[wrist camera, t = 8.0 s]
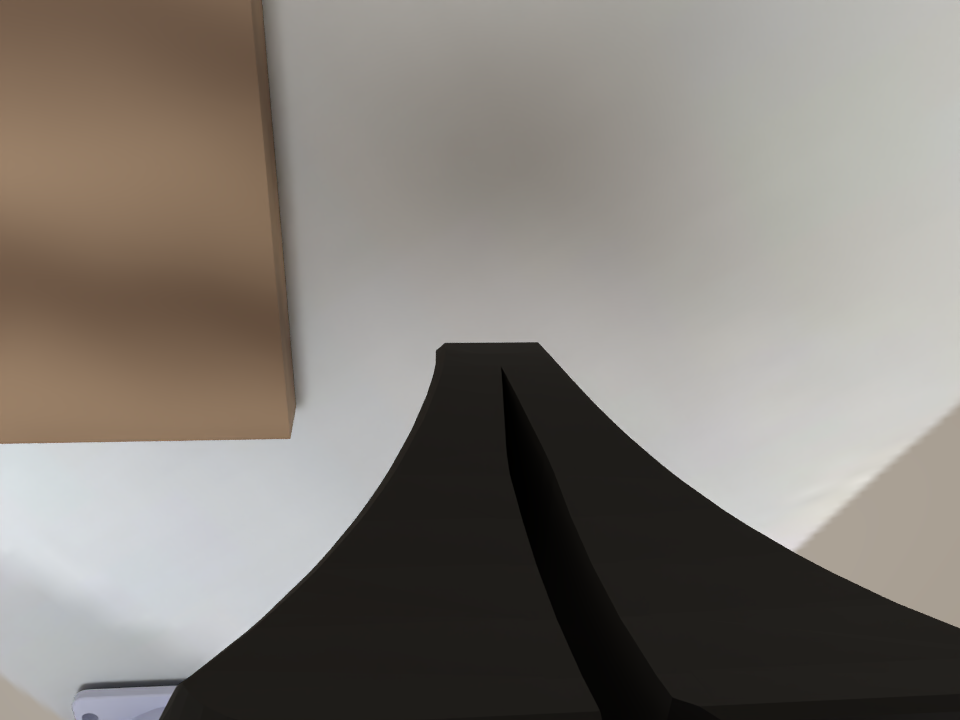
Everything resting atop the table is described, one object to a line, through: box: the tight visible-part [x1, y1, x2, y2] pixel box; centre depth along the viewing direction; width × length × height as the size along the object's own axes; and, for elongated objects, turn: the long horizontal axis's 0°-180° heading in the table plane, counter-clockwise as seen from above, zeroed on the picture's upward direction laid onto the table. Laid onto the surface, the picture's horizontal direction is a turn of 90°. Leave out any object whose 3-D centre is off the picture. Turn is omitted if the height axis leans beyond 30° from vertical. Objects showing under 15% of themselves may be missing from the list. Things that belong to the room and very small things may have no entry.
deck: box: [0, 0, 296, 444], centre depth 17 cm, size 20×10×2 cm, turn 178°
